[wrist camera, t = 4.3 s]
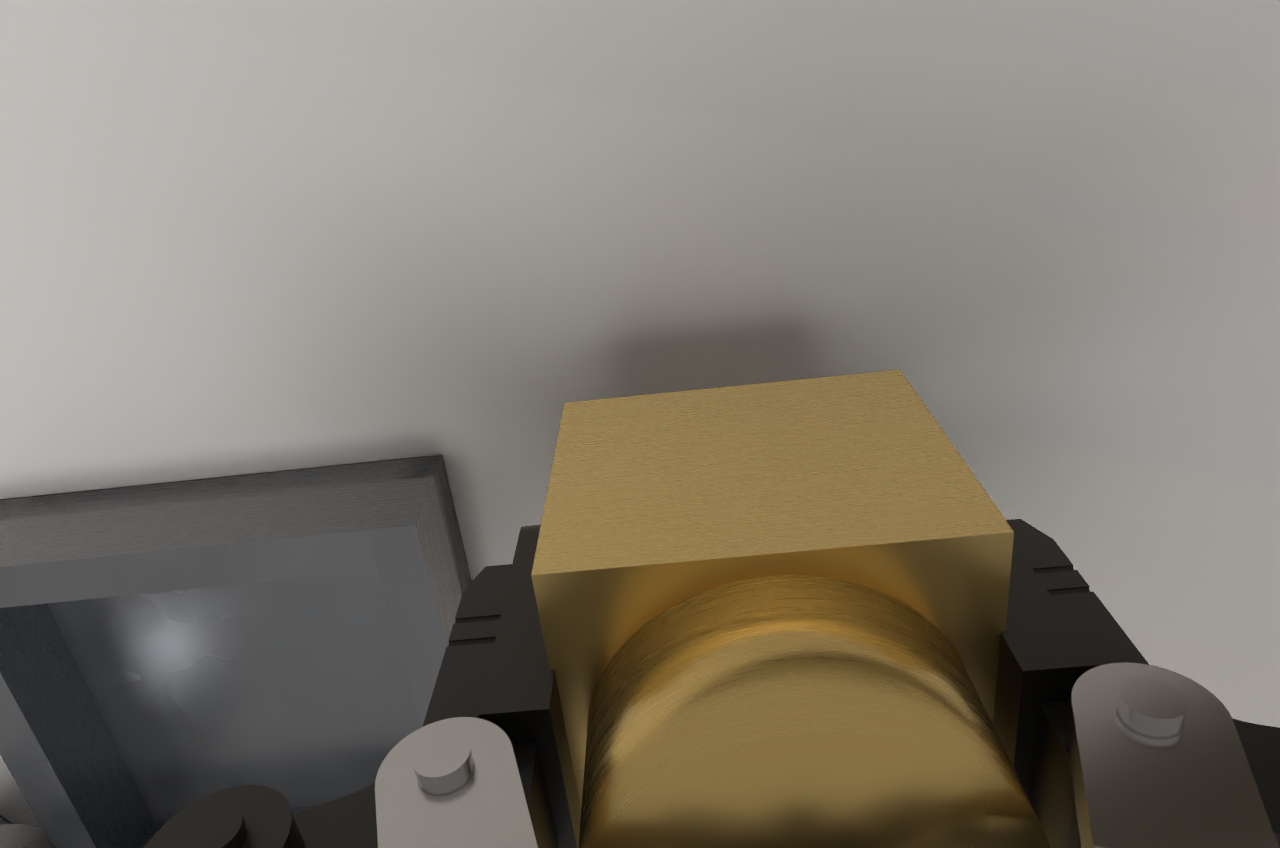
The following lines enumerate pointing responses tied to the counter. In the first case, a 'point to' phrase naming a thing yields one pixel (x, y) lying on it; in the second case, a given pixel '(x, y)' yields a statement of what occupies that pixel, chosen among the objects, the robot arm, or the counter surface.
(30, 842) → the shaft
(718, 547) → the gold square-based knob
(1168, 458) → the counter surface
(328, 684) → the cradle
